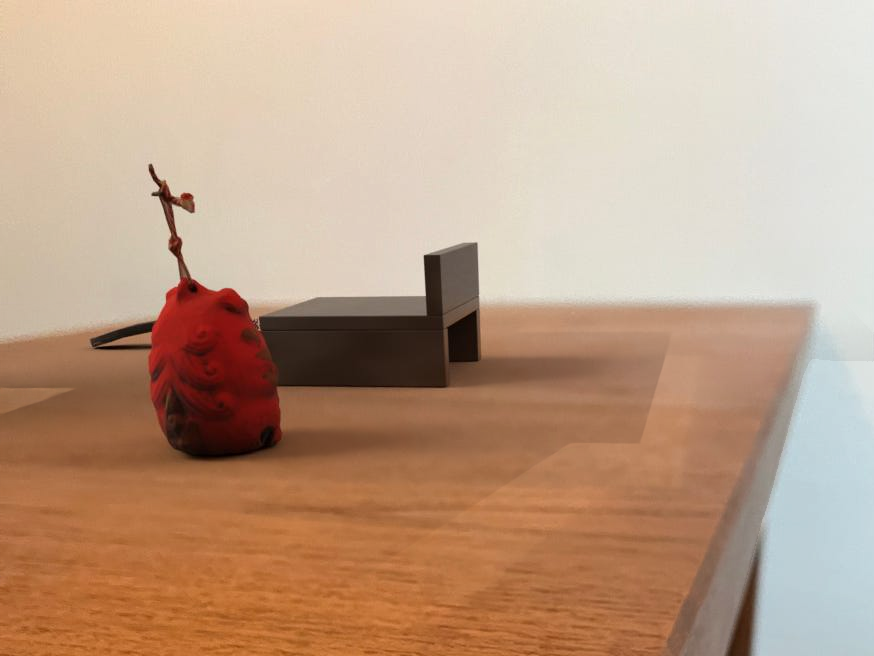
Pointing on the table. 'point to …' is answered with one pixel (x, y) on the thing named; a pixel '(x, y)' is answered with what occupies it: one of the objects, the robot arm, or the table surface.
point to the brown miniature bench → (383, 331)
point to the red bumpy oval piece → (209, 362)
